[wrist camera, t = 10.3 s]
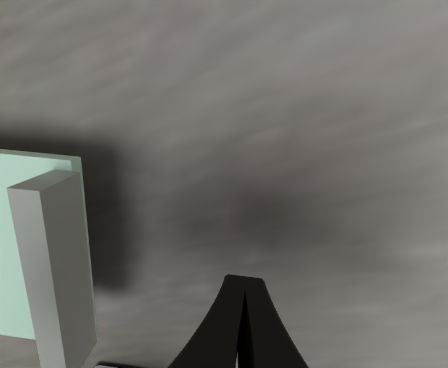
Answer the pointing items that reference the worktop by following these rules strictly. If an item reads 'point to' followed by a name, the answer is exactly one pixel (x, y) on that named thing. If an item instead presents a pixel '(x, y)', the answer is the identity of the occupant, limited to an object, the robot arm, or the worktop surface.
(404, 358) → the worktop surface
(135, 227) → the worktop surface
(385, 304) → the worktop surface
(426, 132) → the worktop surface
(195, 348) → the robot arm
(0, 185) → the lid
